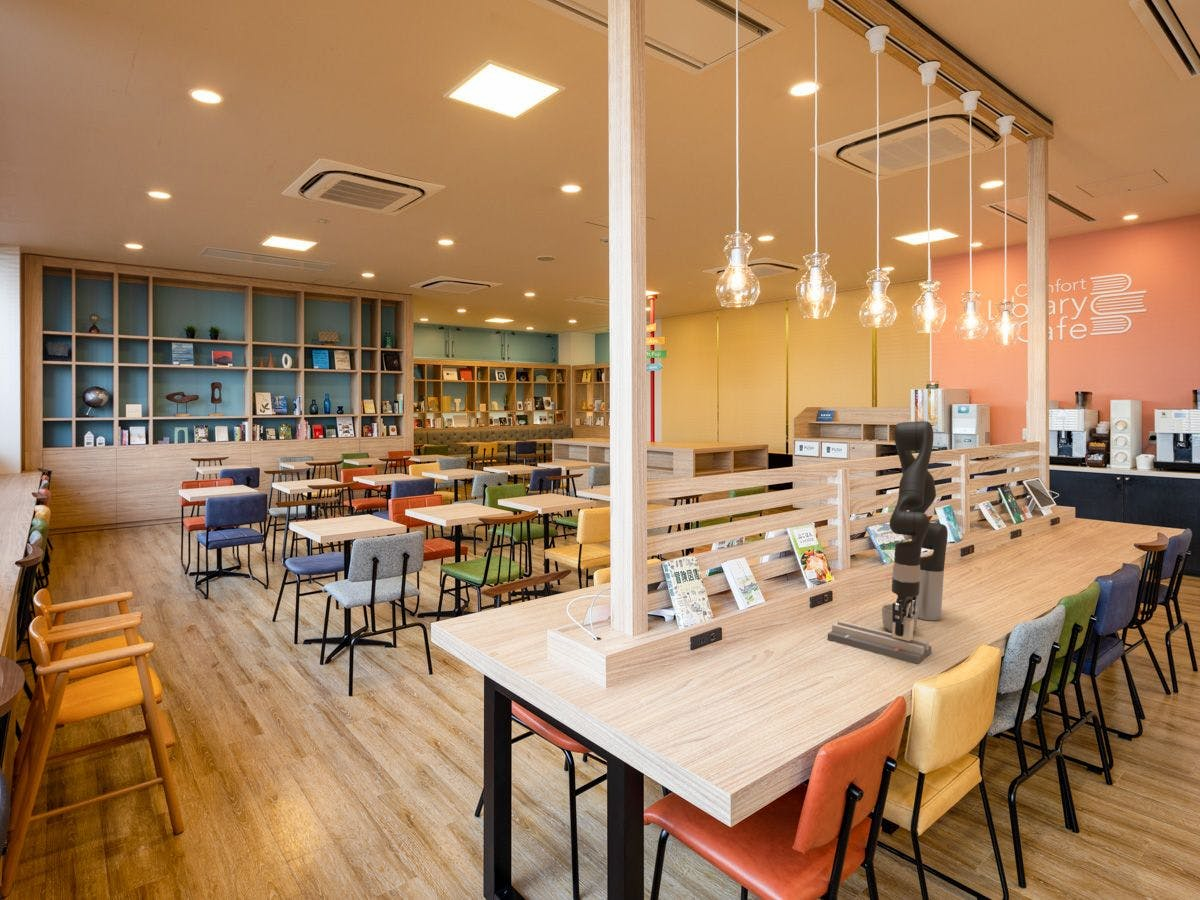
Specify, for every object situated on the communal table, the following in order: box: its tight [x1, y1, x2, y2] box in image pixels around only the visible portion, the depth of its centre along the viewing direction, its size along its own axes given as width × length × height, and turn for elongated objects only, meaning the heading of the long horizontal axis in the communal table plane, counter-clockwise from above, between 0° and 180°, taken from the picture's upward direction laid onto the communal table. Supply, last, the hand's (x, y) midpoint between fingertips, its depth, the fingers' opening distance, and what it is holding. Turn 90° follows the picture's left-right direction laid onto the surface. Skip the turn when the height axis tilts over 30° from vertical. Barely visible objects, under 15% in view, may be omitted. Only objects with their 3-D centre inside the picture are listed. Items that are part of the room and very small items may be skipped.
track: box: [827, 620, 932, 665], centre depth 207 cm, size 12×27×4 cm, turn 47°
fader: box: [891, 616, 914, 643], centre depth 202 cm, size 3×5×8 cm, turn 47°
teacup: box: [881, 603, 919, 633], centre depth 221 cm, size 14×11×8 cm
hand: (902, 632), depth 202 cm, fingers open, 6 cm apart
